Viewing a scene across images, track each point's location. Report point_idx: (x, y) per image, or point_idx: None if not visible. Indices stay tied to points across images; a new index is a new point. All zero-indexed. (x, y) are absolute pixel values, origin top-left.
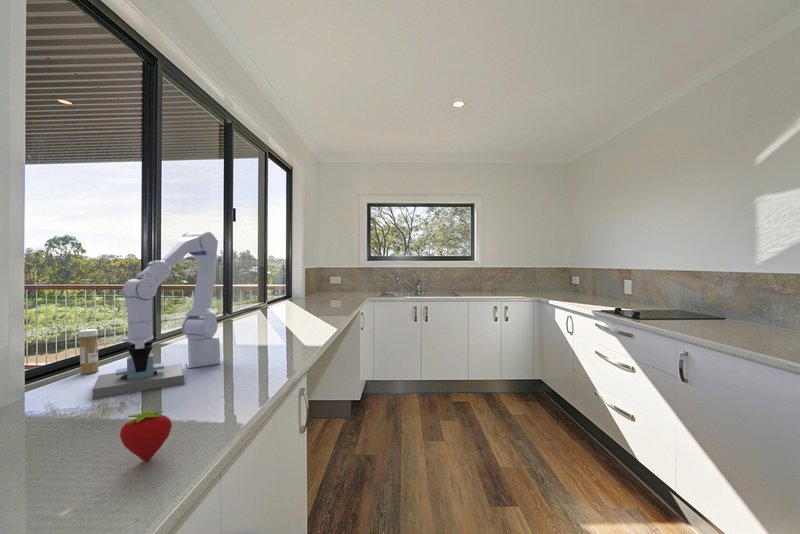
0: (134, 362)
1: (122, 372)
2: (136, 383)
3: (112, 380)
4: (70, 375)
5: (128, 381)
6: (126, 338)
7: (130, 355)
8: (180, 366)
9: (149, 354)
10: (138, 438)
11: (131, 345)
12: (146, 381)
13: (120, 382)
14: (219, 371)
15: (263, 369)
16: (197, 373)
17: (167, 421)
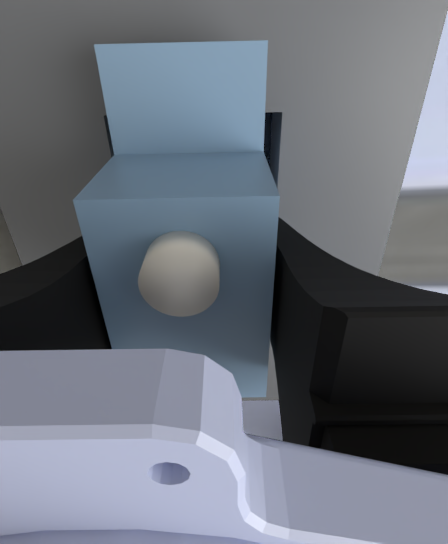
0: (50, 257)
1: (109, 112)
2: (2, 201)
3: (139, 7)
4: None
5: (44, 150)
6: (65, 510)
7: (160, 249)
8: (277, 396)
9: (235, 376)
10: None
11: (325, 338)
12: (20, 255)
13: (38, 90)
14: None
15: None
16: (243, 407)
17: None
